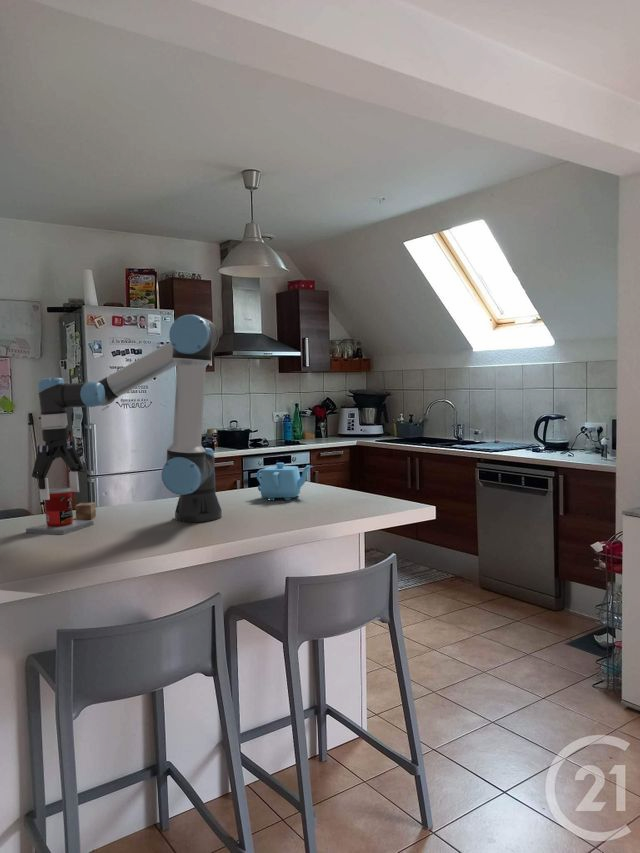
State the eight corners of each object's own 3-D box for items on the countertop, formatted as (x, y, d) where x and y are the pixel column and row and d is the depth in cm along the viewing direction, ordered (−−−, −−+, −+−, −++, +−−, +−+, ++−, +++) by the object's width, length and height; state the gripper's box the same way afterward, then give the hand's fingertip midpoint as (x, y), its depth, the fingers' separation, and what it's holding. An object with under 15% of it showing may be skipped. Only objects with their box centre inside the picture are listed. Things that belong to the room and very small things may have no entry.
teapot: (270, 503, 241) (269, 466, 240) (252, 497, 256) (250, 462, 255) (314, 498, 250) (313, 462, 249) (294, 492, 264) (293, 458, 264)
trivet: (93, 524, 213) (93, 520, 213) (63, 534, 200) (63, 530, 200) (57, 522, 218) (57, 519, 218) (26, 532, 204) (25, 528, 204)
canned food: (64, 527, 204) (62, 491, 204) (41, 526, 206) (39, 491, 205) (78, 521, 212) (76, 487, 211) (55, 521, 213) (53, 487, 213)
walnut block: (95, 517, 226) (95, 502, 226) (91, 520, 221) (90, 505, 221) (81, 517, 226) (80, 503, 226) (76, 520, 221) (75, 505, 221)
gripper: (71, 425, 220) (77, 488, 221) (15, 431, 196) (21, 503, 197) (90, 424, 217) (96, 488, 219) (35, 430, 194) (42, 503, 195)
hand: (60, 495), depth 208 cm, fingers open, 13 cm apart
